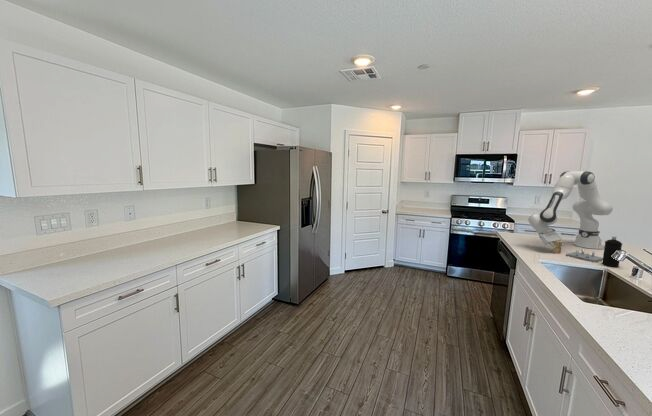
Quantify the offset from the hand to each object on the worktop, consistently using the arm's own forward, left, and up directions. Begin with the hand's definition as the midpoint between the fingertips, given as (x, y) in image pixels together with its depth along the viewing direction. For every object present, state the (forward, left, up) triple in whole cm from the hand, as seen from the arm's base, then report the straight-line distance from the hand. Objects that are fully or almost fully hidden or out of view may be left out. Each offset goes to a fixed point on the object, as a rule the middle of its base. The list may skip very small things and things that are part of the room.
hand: (558, 247), depth 209 cm
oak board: (0, -1, -5) cm, 5 cm away
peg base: (-4, +15, -5) cm, 16 cm away
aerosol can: (+1, +30, -5) cm, 31 cm away
